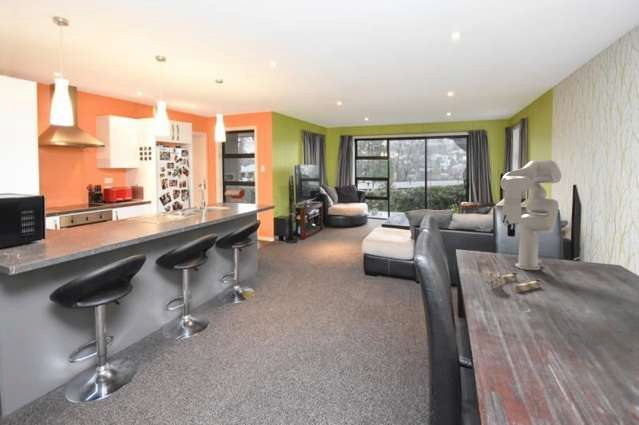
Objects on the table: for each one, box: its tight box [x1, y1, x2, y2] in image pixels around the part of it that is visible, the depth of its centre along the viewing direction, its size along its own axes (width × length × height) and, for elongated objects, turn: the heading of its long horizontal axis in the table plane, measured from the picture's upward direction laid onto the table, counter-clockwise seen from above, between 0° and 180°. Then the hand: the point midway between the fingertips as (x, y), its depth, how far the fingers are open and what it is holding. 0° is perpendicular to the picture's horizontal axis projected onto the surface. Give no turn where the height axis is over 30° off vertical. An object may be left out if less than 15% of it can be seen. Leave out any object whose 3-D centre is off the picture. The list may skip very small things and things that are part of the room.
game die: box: [485, 273, 509, 292], centre depth 165 cm, size 9×8×10 cm
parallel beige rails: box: [501, 271, 542, 293], centre depth 171 cm, size 16×14×4 cm
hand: (511, 236), depth 179 cm, fingers closed
